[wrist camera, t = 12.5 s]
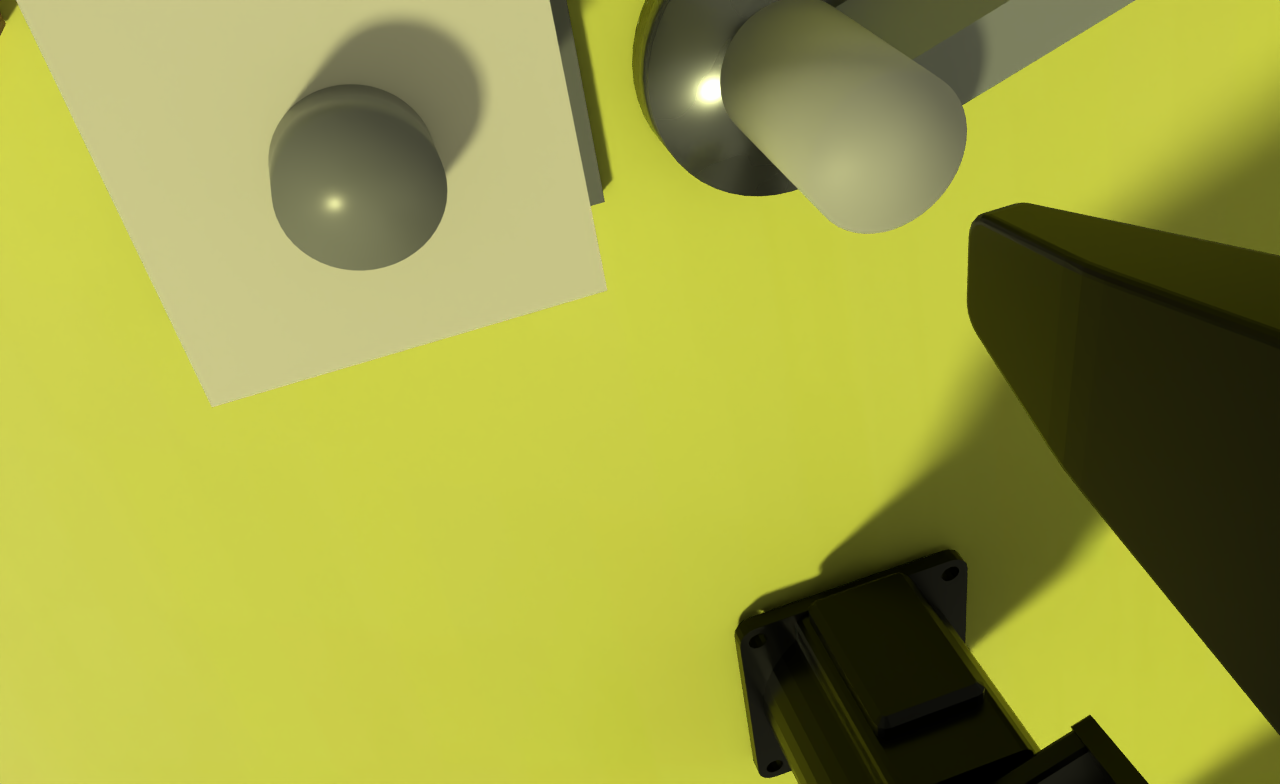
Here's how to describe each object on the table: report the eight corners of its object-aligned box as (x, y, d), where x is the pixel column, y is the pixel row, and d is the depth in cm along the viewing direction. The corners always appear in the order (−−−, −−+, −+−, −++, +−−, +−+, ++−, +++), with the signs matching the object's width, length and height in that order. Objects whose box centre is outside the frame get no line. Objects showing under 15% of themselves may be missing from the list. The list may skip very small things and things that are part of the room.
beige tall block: (512, 106, 20) (642, 330, 14) (204, 188, 19) (201, 464, 13) (432, -237, 17) (558, -140, 11) (59, -155, 16) (-34, 1, 10)
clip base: (887, 137, 23) (911, 156, 22) (653, 204, 22) (669, 226, 22) (881, -125, 20) (908, -113, 19) (611, -57, 19) (628, -42, 19)
